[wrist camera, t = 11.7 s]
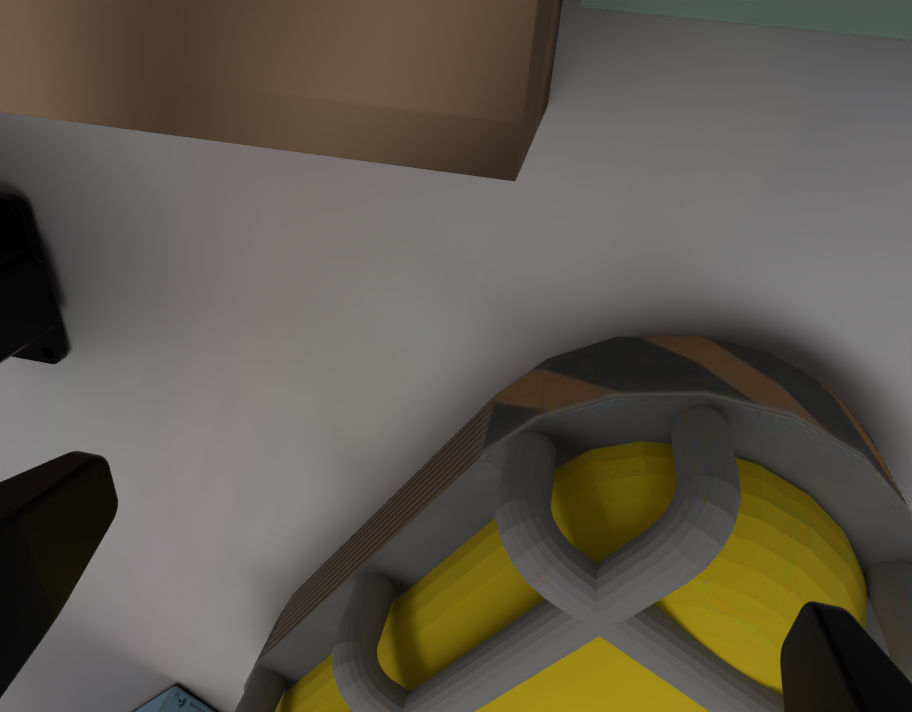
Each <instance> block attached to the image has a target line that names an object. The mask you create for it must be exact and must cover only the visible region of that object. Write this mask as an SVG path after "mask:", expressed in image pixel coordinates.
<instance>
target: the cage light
mask: <svg viewBox="0 0 912 712" xmlns="http://www.w3.org/2000/svg"><path fill="white" fill-rule="evenodd" d="M810 601H814V602H819V603H824V604H829V605H834V606H838V607H842V608H844V609H846V610H847V611H848V612H850V613H851V614H852V615H853V617H854V618H855V619H856V620H857V621H858V622H859V623H860V624H861V626H862V627H863V628H864V629H865V630H866V631H867V632H868V634H869V635H870V636H871V637H872V638H873V639H874V640H875V641H876V643H877V644H878V645H879V646H880V647H881V648H882V649H883V651H884V652H885V653H886V654H887V655H888V654H889V657H890V658H891V660H892V661H893V662H894V663H895V664H896V665H897V666H898V668H899V669H900V670H901V671H902V672H903V673H904V674H905V675H906V677H907V678H908V679H909V680H910V681H911V682H912V513H911V512H910V510H909V508H908V506H907V504H906V502H905V500H904V498H903V497H902V495H901V493H900V491H899V489H898V487H897V485H896V483H895V482H894V480H893V478H892V476H891V474H890V472H889V470H888V468H887V467H886V465H885V463H884V461H883V459H882V457H881V455H880V453H879V452H878V450H877V448H876V446H875V444H874V442H873V440H872V438H871V437H870V436H869V435H868V433H867V432H866V431H865V430H864V429H863V427H862V426H861V425H860V424H859V422H858V421H857V420H856V419H855V418H854V416H853V415H852V414H851V413H850V412H849V410H848V409H847V408H846V407H845V405H844V404H843V403H842V402H841V401H840V399H839V398H838V397H837V396H836V395H835V393H834V392H833V391H832V390H831V389H830V388H828V387H827V386H825V385H823V384H822V383H820V382H818V381H816V380H815V379H813V378H811V377H809V376H808V375H806V374H804V373H803V372H801V371H799V370H797V369H796V368H794V367H792V366H791V365H789V364H787V363H785V362H784V361H782V360H780V359H779V358H777V357H775V356H773V355H772V354H770V353H768V352H764V351H760V350H755V349H751V348H747V347H743V346H738V345H734V344H730V343H726V342H722V341H717V340H713V339H709V338H705V337H700V336H696V335H670V336H642V337H615V338H612V339H609V340H606V341H603V342H600V343H596V344H593V345H590V346H587V347H584V348H581V349H577V350H574V351H571V352H568V353H565V354H562V355H558V356H555V357H552V358H549V359H547V360H545V361H544V362H542V363H541V364H540V365H538V366H537V367H535V368H534V369H532V370H531V371H530V372H528V373H527V374H525V375H524V376H522V377H521V378H519V379H518V380H517V381H515V382H514V383H512V384H511V385H509V386H508V387H506V388H505V389H504V390H502V391H501V392H499V393H498V394H496V395H495V396H494V397H493V398H492V399H491V400H490V401H489V402H488V403H487V404H486V405H485V406H484V407H483V408H482V409H481V410H480V411H479V412H478V413H477V414H476V415H475V416H474V417H473V418H472V419H471V420H470V421H469V422H468V423H467V424H466V425H465V426H464V427H463V428H462V429H461V430H460V431H459V432H458V433H457V434H456V435H455V436H454V437H453V438H452V439H451V440H450V441H449V442H448V443H447V444H446V445H445V446H444V447H443V448H442V449H441V450H440V451H439V452H438V453H436V454H435V455H434V456H433V457H432V458H431V459H430V460H429V461H428V462H427V463H426V464H425V465H424V466H423V467H422V468H421V469H420V470H419V471H418V472H417V473H416V474H415V475H414V476H413V477H412V478H411V479H410V480H409V481H408V482H407V483H406V484H405V485H404V486H403V487H402V488H401V489H400V490H399V491H398V492H397V493H396V494H395V495H394V496H393V497H392V498H391V499H390V500H389V501H388V502H387V503H386V504H385V505H384V506H383V507H382V508H381V509H380V510H379V511H378V512H377V513H375V514H374V515H373V516H372V517H371V518H370V519H369V520H368V521H367V522H366V523H365V524H364V525H363V526H362V527H361V528H360V529H359V530H358V531H357V532H356V533H355V534H354V535H353V536H352V537H351V538H350V539H349V540H348V541H347V542H346V543H345V544H344V545H343V546H342V547H341V548H340V549H339V550H338V551H337V552H336V553H335V554H334V555H333V556H332V557H331V558H330V559H329V560H328V561H327V562H326V563H325V564H324V565H323V566H322V567H321V568H320V569H319V570H318V571H317V572H316V573H315V574H313V575H312V576H311V577H310V578H309V579H308V580H307V581H306V582H305V583H304V584H303V585H302V586H301V587H300V588H299V589H298V590H297V591H296V592H295V593H294V594H293V595H292V597H291V598H290V600H289V602H288V603H287V605H286V607H285V608H284V610H283V612H282V613H281V615H280V616H279V618H278V620H277V622H276V624H275V626H274V628H273V630H272V632H271V634H270V635H269V637H268V639H267V641H266V643H265V645H264V647H263V649H262V651H261V653H260V655H259V657H258V659H257V661H256V663H255V665H254V667H253V669H252V671H251V673H250V675H249V677H248V679H247V681H246V683H245V685H244V695H243V697H242V699H241V701H240V703H239V705H238V707H237V709H236V711H235V712H784V705H783V693H782V681H781V668H780V654H781V648H782V644H783V642H784V640H785V638H786V636H787V634H788V632H789V630H790V628H791V627H792V625H793V623H794V621H795V619H796V617H797V615H798V613H799V611H800V610H801V608H802V607H803V605H804V604H806V603H807V602H810Z"/></svg>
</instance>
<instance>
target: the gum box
mask: <svg viewBox="0 0 912 712" xmlns="http://www.w3.org/2000/svg"><path fill="white" fill-rule="evenodd" d="M134 712H214V711H213V710H212V709H210V708H209V707H207V706H206V705H204V704H203V703H201V702H200V701H199V700H197V699H195V698H194V697H192V696H191V695H189V694H188V693H187V692H185V691H184V690H183V689H181V688H179V687H172V688H171V689H169V690H167V691H166V692H164V693H163V694H161V695H159V696H158V697H156V698H155V699H153V700H152V701H150V702H149V703H147V704H145V705H144V706H142V707H141V708H139V709H138V710H136V711H134Z"/></svg>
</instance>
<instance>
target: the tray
mask: <svg viewBox="0 0 912 712" xmlns="http://www.w3.org/2000/svg"><path fill="white" fill-rule="evenodd" d="M580 8H590V9H600V10H610V11H620V12H630V13H640V14H650V15H660V16H670V17H680V18H690V19H700V20H710V21H720V22H730V23H740V24H750V25H760V26H770V27H780V28H790V29H800V30H810V31H820V32H831V33H841V34H851V35H861V36H871V37H881V38H891V39H901V40H911V41H912V0H581V1H580Z"/></svg>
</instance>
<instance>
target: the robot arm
mask: <svg viewBox="0 0 912 712" xmlns="http://www.w3.org/2000/svg"><path fill="white" fill-rule="evenodd" d="M10 208H11V209H13V211H14V213H15V214H14V213H13V212H12V211H11V209H10ZM67 354H68V353H67V347H66V343H65V339H64V335H63V332H62V328H61V324H60V321H59V317H58V313H57V309H56V306H55V302H54V298H53V295H52V291H51V287H50V283H49V280H48V276H47V272H46V269H45V265H44V261H43V257H42V254H41V250H40V246H39V243H38V239H37V235H36V231H35V228H34V224H33V220H32V216H31V213H30V210H29V207H28V205H27V204H26V203H25V201H24V200H23V199H21V198H20V197H19V196H16V195H13V194H8V193H1V192H0V363H2V362H3V361H5V360H6V359H8V358H9V357H11V356H12V357H17V358H22V359H28V360H33V361H39V362H44V363H49V364H56V363H58V362H60V361H61V360H62V359H64V358H65V357H66V356H67ZM117 508H118V498H117V494H116V490H115V486H114V482H113V478H112V475H111V471H110V467H109V464H108V461H107V460H106V459H105V458H104V457H102V456H100V455H96V454H91V453H86V452H81V451H73V452H70V453H67V454H64V455H62V456H60V457H57V458H55V459H53V460H51V461H48V462H46V463H44V464H41V465H39V466H37V467H34V468H32V469H30V470H27V471H25V472H23V473H20V474H18V475H16V476H13V477H11V478H9V479H6V480H4V481H2V482H0V698H1V697H2V695H3V694H4V692H5V691H6V690H7V688H8V687H9V685H10V684H11V683H12V681H13V680H14V678H15V677H16V675H17V674H18V673H19V671H20V670H21V668H22V667H23V666H24V664H25V663H26V661H27V660H28V659H29V657H30V656H31V654H32V653H33V651H34V650H35V649H36V647H37V646H38V644H39V643H40V642H41V640H42V639H43V637H44V636H45V634H46V633H47V631H48V630H49V628H50V627H51V626H52V624H53V623H54V621H55V620H56V618H57V616H58V615H59V613H60V611H61V610H62V608H63V607H64V605H65V603H66V602H67V600H68V598H69V596H70V595H71V593H72V591H73V589H74V588H75V586H76V584H77V583H78V581H79V579H80V577H81V576H82V574H83V572H84V570H85V569H86V567H87V565H88V563H89V562H90V560H91V558H92V556H93V555H94V553H95V551H96V549H97V548H98V546H99V544H100V542H101V541H102V539H103V537H104V535H105V534H106V532H107V530H108V528H109V527H110V525H111V523H112V521H113V520H114V517H115V515H116V512H117ZM780 668H781V681H782V693H783V705H784V712H912V682H911V681H910V680H909V679H908V678H907V677H906V675H905V674H904V673H903V672H902V671H901V670H900V669H899V668H898V666H897V665H896V664H895V663H894V662H893V661H892V660H891V658H890V657H889V656H888V655H887V654H886V653H885V652H884V651H883V649H882V648H881V647H880V646H879V645H878V644H877V643H876V641H875V640H874V639H873V638H872V637H871V636H870V635H869V634H868V632H867V631H866V630H865V629H864V628H863V627H862V626H861V624H860V623H859V622H858V621H857V620H856V619H855V618H854V617H853V615H852V614H851V613H850V612H848V611H847V610H846V609H844V608H842V607H838V606H834V605H829V604H824V603H819V602H814V601H810V602H807V603H806V604H804V605H803V607H802V608H801V610H800V611H799V613H798V615H797V617H796V619H795V621H794V623H793V625H792V627H791V628H790V630H789V632H788V634H787V636H786V638H785V640H784V642H783V644H782V648H781V654H780Z"/></svg>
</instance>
